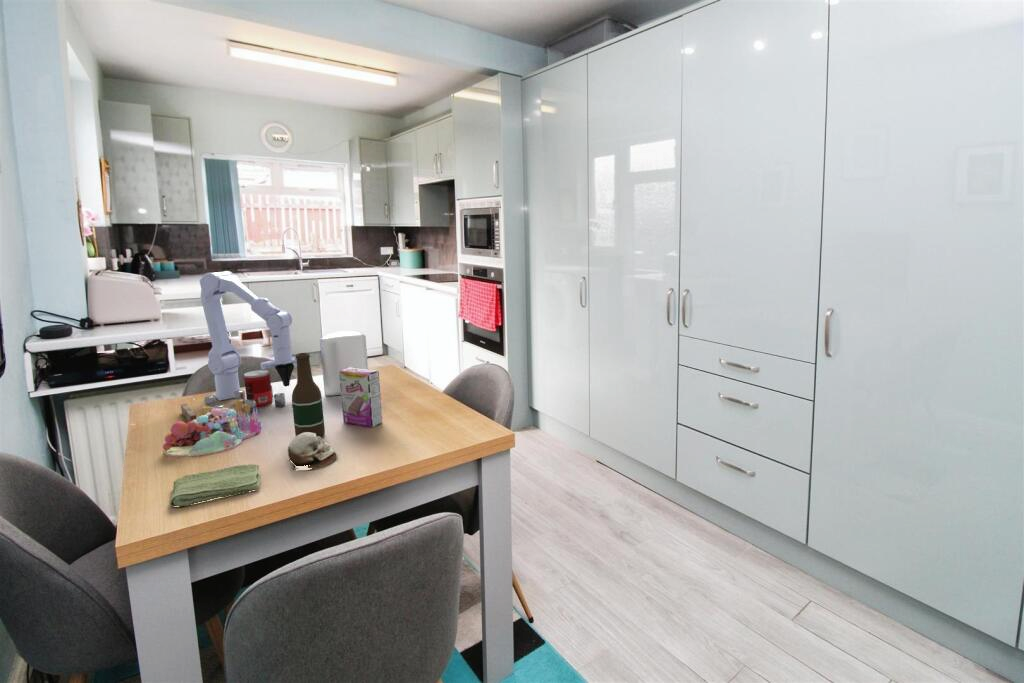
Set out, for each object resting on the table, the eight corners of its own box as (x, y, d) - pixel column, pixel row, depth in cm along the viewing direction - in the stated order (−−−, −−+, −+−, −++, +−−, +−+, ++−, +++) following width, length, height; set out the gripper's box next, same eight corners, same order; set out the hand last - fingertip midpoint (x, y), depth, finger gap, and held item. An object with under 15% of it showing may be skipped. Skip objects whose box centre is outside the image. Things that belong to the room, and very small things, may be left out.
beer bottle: (297, 444, 147) (288, 358, 142) (294, 435, 154) (285, 352, 149) (327, 439, 151) (319, 354, 146) (323, 430, 157) (315, 349, 153)
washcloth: (262, 493, 121) (261, 479, 120) (169, 513, 113) (167, 498, 112) (259, 471, 132) (257, 458, 132) (174, 487, 124) (172, 474, 124)
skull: (327, 443, 145) (333, 422, 138) (337, 478, 140) (344, 458, 133) (279, 452, 139) (283, 431, 132) (288, 489, 134) (292, 469, 127)
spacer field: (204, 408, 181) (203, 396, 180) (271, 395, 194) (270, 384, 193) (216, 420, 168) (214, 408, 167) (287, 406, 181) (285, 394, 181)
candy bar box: (342, 423, 163) (337, 370, 160) (353, 418, 168) (349, 366, 164) (372, 428, 159) (368, 373, 155) (383, 422, 163) (379, 369, 160)
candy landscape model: (174, 431, 160) (169, 401, 159) (261, 419, 170) (258, 391, 168) (158, 463, 138) (153, 428, 136) (260, 447, 147) (256, 414, 145)
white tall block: (341, 384, 206) (336, 327, 202) (377, 385, 204) (373, 327, 200) (322, 396, 191) (316, 335, 187) (361, 397, 189) (356, 335, 185)
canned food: (277, 400, 187) (273, 369, 185) (264, 408, 180) (260, 375, 177) (256, 400, 188) (252, 369, 186) (242, 408, 180) (238, 375, 178)
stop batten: (182, 413, 176) (180, 404, 176) (187, 412, 177) (186, 403, 177) (191, 425, 164) (190, 416, 164) (197, 424, 165) (196, 415, 165)
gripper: (263, 352, 178) (267, 392, 181) (307, 345, 187) (311, 383, 190) (257, 349, 184) (261, 387, 186) (300, 342, 193) (304, 379, 195)
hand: (286, 385), depth 189 cm, fingers closed
